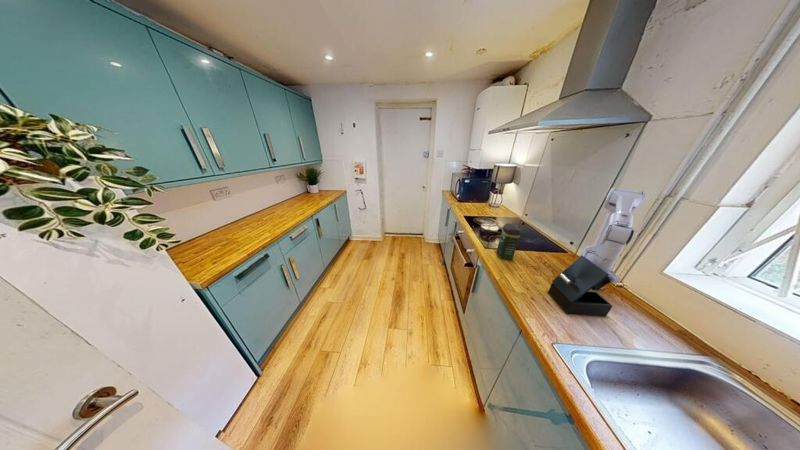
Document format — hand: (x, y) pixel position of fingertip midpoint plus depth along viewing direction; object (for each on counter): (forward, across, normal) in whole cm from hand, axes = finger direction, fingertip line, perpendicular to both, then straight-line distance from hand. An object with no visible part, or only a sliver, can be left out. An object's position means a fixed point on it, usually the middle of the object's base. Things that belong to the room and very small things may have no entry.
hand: (589, 285), depth 78 cm
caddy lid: (-4, +2, -8) cm, 9 cm away
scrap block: (+1, 0, 0) cm, 1 cm away
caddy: (+8, +2, -4) cm, 9 cm away
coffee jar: (+8, -32, -18) cm, 38 cm away
